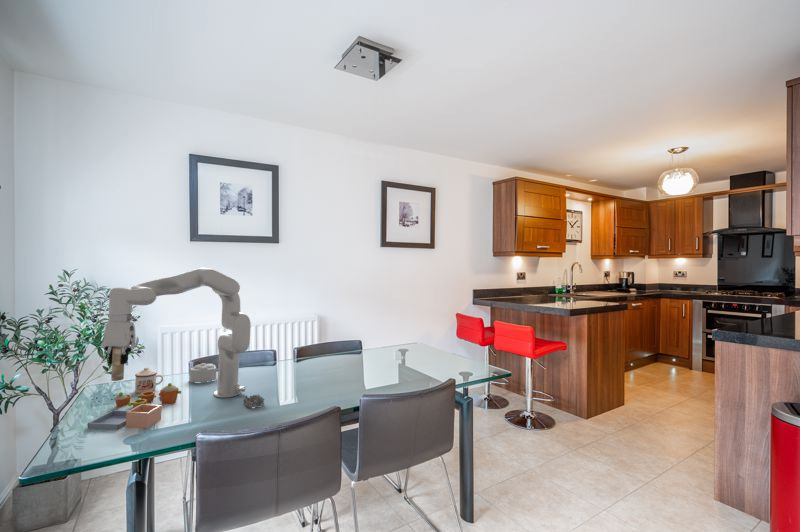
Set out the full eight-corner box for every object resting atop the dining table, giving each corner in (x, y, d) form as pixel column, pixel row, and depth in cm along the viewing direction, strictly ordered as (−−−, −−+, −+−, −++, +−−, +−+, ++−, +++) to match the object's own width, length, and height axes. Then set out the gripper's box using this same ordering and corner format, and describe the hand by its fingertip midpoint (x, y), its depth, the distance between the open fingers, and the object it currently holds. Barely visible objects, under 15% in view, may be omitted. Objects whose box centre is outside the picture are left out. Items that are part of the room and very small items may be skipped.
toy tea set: (176, 393, 189) (176, 374, 189) (184, 403, 178) (185, 382, 178) (111, 405, 170) (112, 384, 170) (116, 417, 159) (117, 394, 159)
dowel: (125, 378, 154) (127, 346, 154) (118, 381, 150) (120, 348, 150) (116, 377, 154) (117, 346, 154) (108, 380, 150) (110, 348, 150)
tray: (141, 418, 159) (141, 411, 158) (118, 432, 146) (118, 424, 145) (112, 417, 158) (112, 410, 158) (87, 430, 145) (87, 423, 145)
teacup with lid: (134, 394, 184) (135, 371, 184) (134, 389, 191) (135, 366, 191) (162, 391, 190) (163, 368, 190) (162, 385, 198) (163, 363, 198)
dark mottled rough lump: (241, 403, 181) (242, 394, 181) (257, 399, 186) (257, 391, 186) (249, 410, 173) (250, 401, 173) (265, 406, 178) (266, 398, 178)
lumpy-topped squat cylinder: (216, 381, 209) (217, 366, 209) (190, 384, 202) (190, 368, 202) (214, 376, 218) (214, 361, 218) (188, 379, 211) (189, 363, 211)
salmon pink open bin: (161, 421, 156) (161, 404, 156) (147, 430, 148) (148, 413, 148) (140, 420, 156) (141, 404, 156) (125, 429, 148) (126, 412, 148)
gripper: (147, 317, 155) (145, 361, 156) (106, 315, 155) (104, 359, 155) (134, 320, 148) (132, 366, 148) (91, 318, 148) (89, 364, 148)
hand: (118, 362), depth 152 cm, fingers closed on dowel, 4 cm apart
